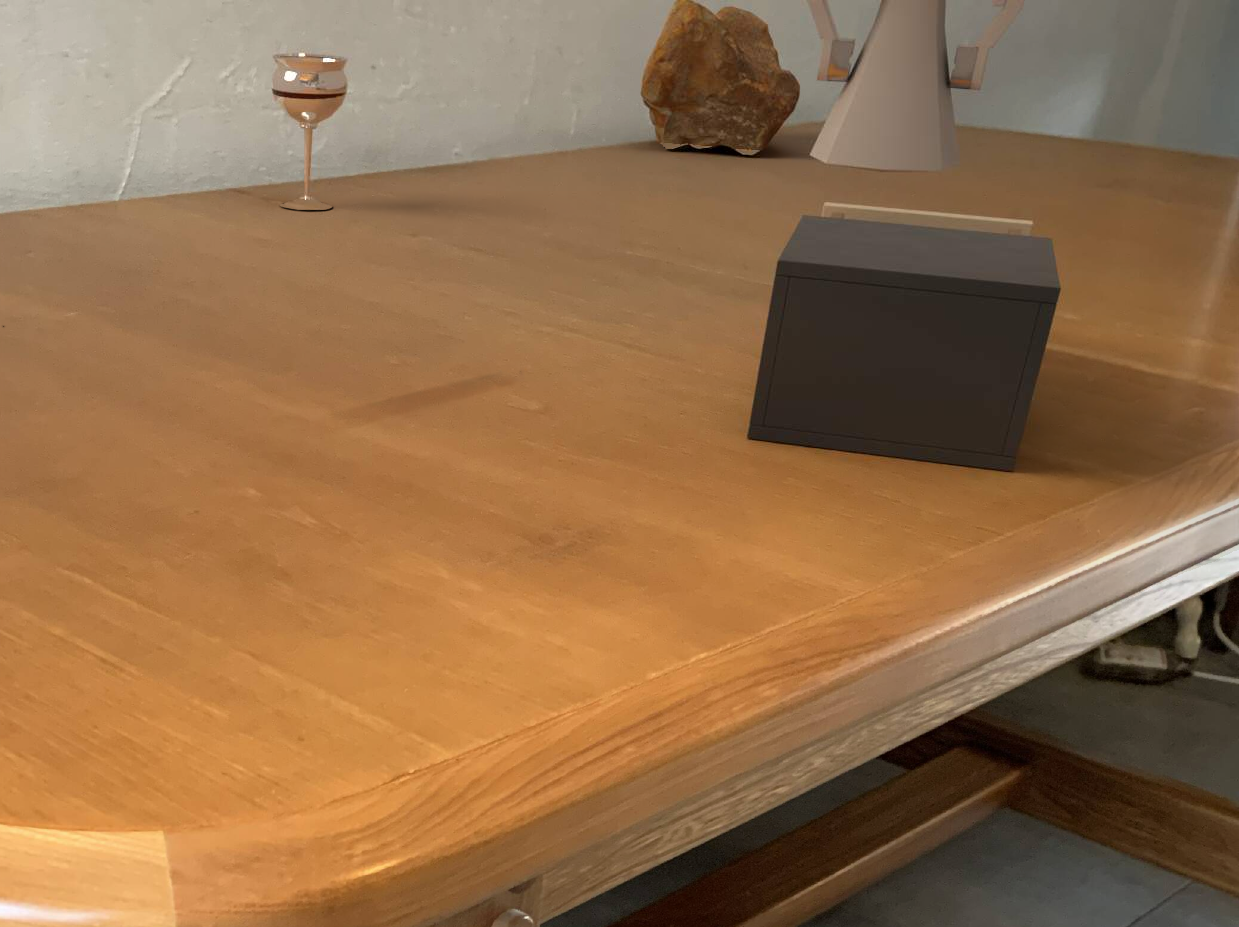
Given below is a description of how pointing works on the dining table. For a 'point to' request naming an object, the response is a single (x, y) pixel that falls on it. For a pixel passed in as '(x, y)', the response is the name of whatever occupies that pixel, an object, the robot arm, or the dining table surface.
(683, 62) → the rough brown rock
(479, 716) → the dining table surface
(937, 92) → the flask
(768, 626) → the dining table surface
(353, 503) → the dining table surface
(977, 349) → the cabinet
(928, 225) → the drawer
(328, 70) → the wineglass
